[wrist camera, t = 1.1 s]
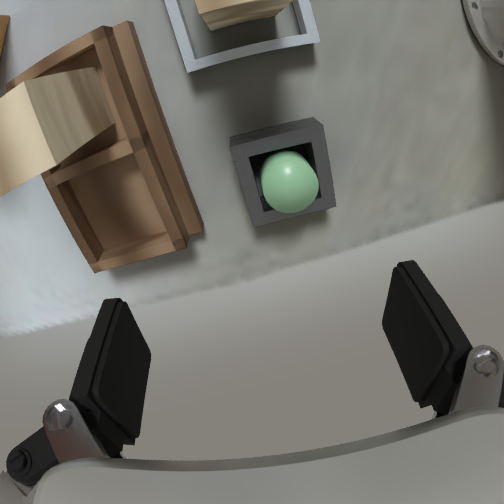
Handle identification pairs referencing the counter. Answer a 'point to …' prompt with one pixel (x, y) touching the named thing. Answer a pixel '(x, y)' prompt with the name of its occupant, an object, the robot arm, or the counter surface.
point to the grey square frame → (192, 63)
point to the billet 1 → (49, 122)
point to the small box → (3, 29)
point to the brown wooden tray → (120, 159)
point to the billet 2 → (237, 11)
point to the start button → (288, 181)
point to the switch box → (274, 140)
